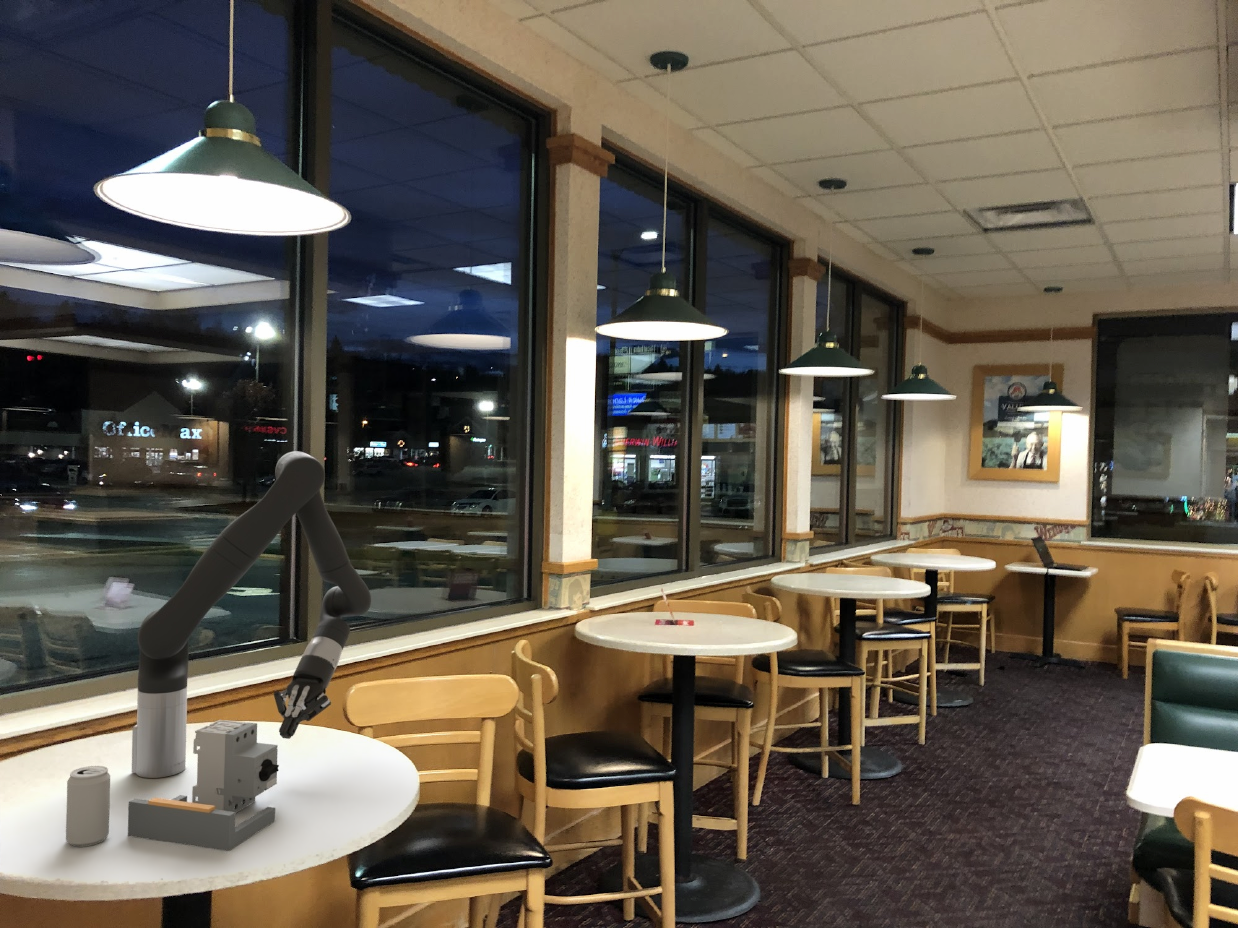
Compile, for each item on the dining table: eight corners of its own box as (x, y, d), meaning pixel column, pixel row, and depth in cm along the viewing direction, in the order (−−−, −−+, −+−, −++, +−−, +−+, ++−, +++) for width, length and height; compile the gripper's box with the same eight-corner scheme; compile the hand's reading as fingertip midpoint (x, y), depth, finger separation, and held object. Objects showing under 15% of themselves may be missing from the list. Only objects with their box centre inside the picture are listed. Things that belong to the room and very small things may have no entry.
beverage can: (77, 832, 161) (78, 764, 161) (115, 832, 162) (117, 764, 162) (58, 848, 155) (59, 777, 155) (98, 848, 156) (99, 777, 155)
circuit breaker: (261, 819, 169) (263, 737, 169) (191, 811, 172) (193, 730, 172) (284, 804, 177) (286, 726, 177) (217, 796, 180) (219, 719, 179)
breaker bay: (127, 835, 161) (128, 798, 161) (179, 808, 173) (180, 772, 173) (228, 850, 156) (229, 811, 156) (274, 821, 169) (275, 785, 169)
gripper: (284, 651, 199) (247, 724, 187) (340, 655, 196) (306, 730, 184) (297, 670, 204) (263, 742, 192) (352, 674, 201) (320, 748, 189)
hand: (284, 736), depth 188 cm, fingers closed
